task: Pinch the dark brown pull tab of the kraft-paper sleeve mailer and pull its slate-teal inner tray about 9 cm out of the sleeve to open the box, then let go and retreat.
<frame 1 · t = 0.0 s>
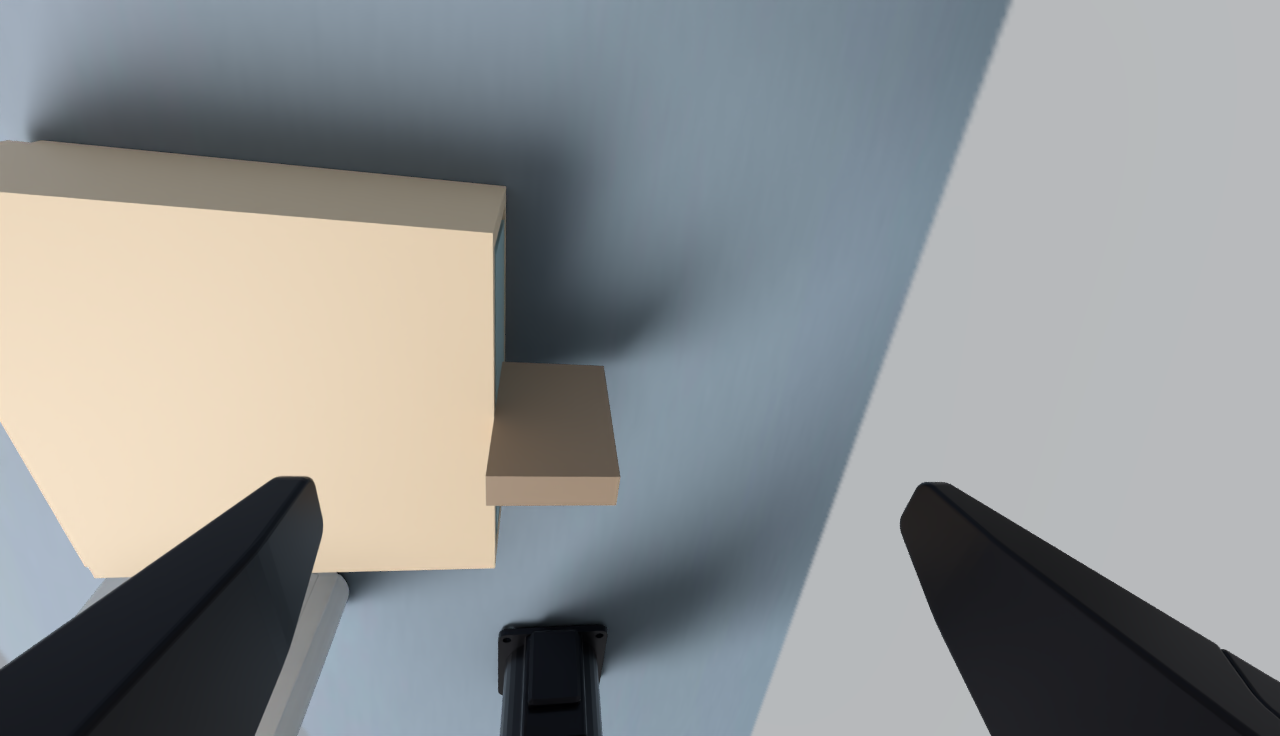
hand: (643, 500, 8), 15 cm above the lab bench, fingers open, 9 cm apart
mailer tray: (343, 414, 19), point 4 cm above the lab bench, slide at 0.0 cm, touching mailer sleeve
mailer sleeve: (324, 347, 22), on the lab bench
white product package: (243, 576, 28), on the lab bench
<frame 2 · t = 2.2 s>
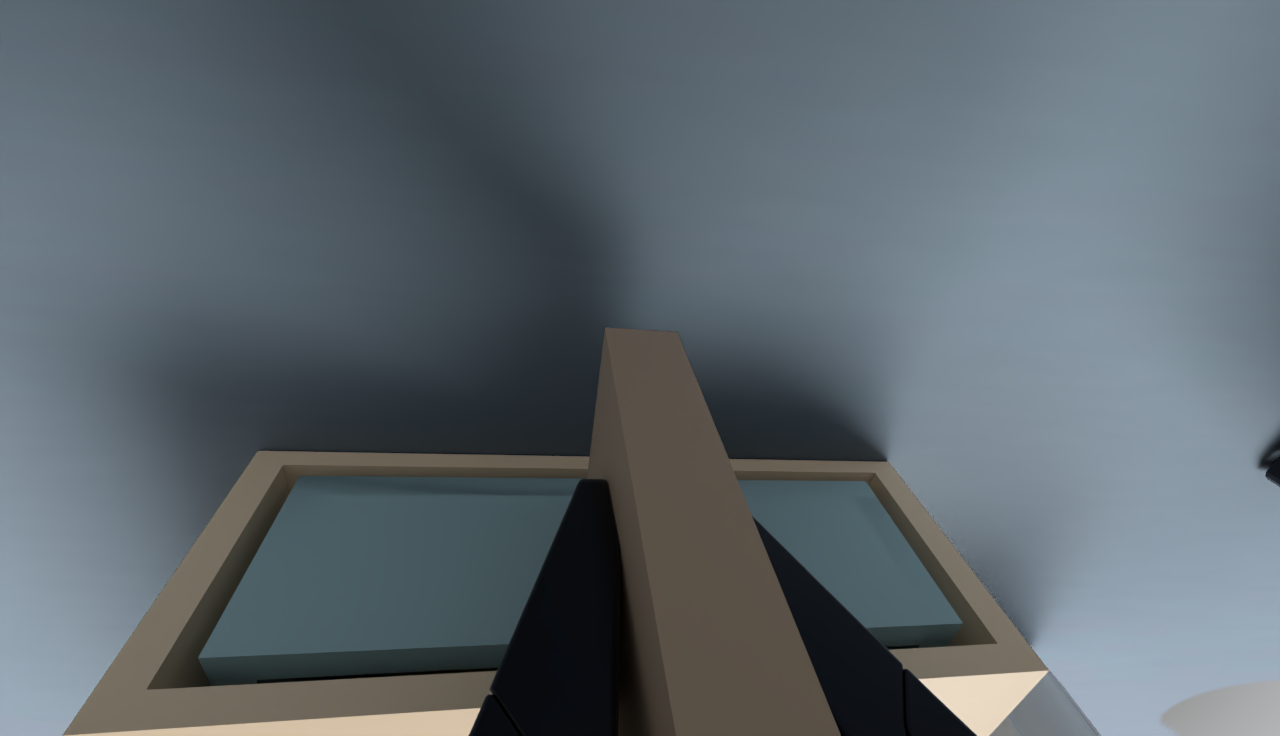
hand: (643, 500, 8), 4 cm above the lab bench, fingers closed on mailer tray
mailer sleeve: (580, 642, 16), on the lab bench
white product package: (922, 710, 22), on the lab bench
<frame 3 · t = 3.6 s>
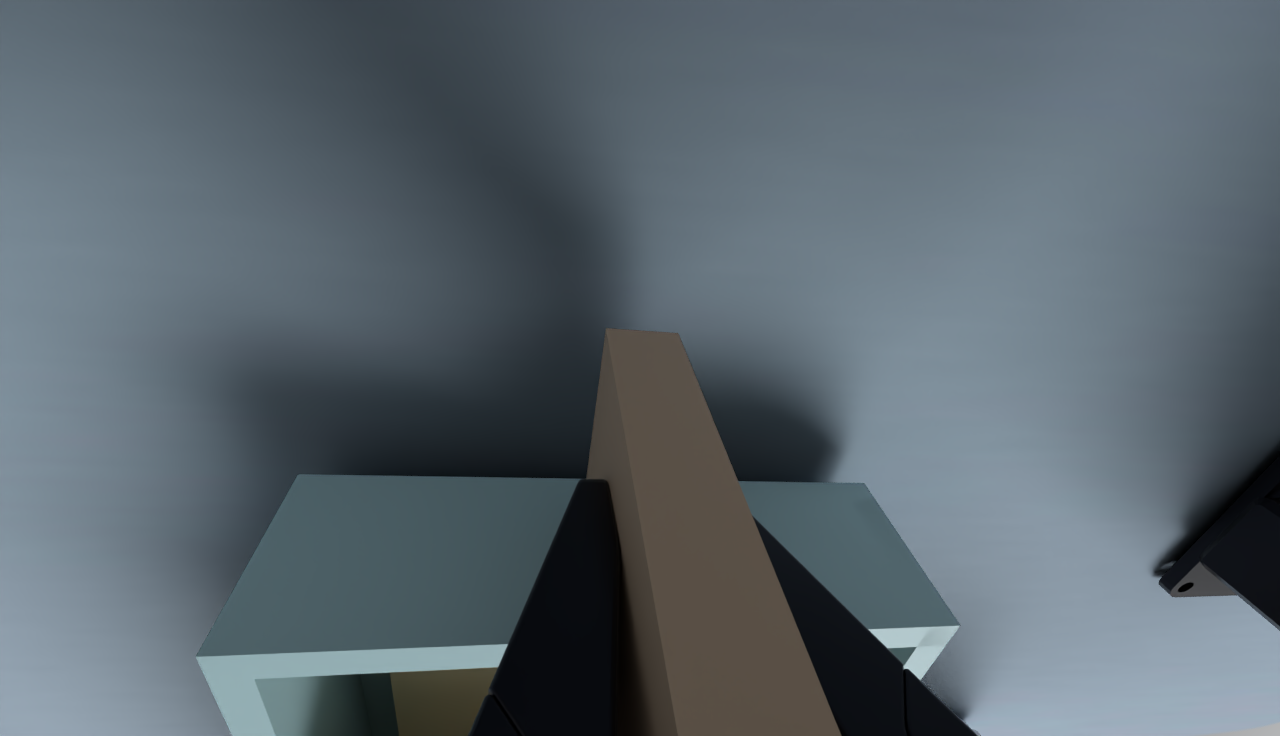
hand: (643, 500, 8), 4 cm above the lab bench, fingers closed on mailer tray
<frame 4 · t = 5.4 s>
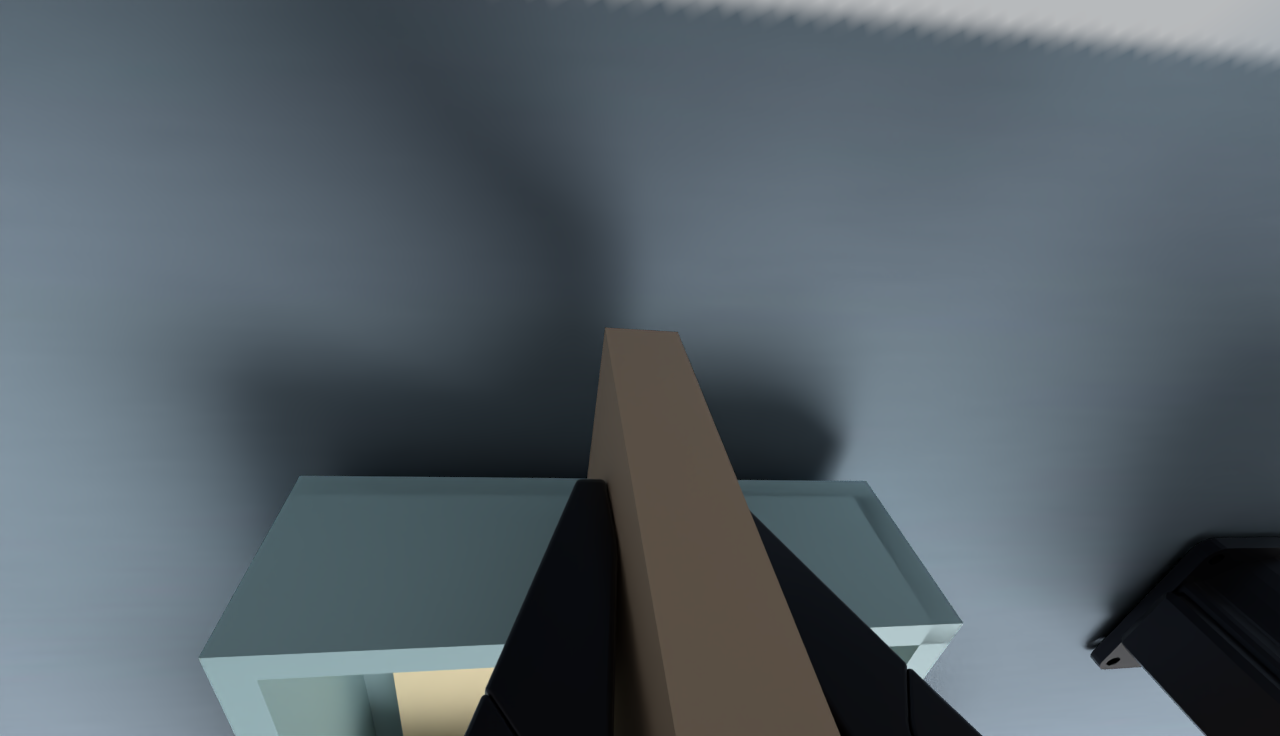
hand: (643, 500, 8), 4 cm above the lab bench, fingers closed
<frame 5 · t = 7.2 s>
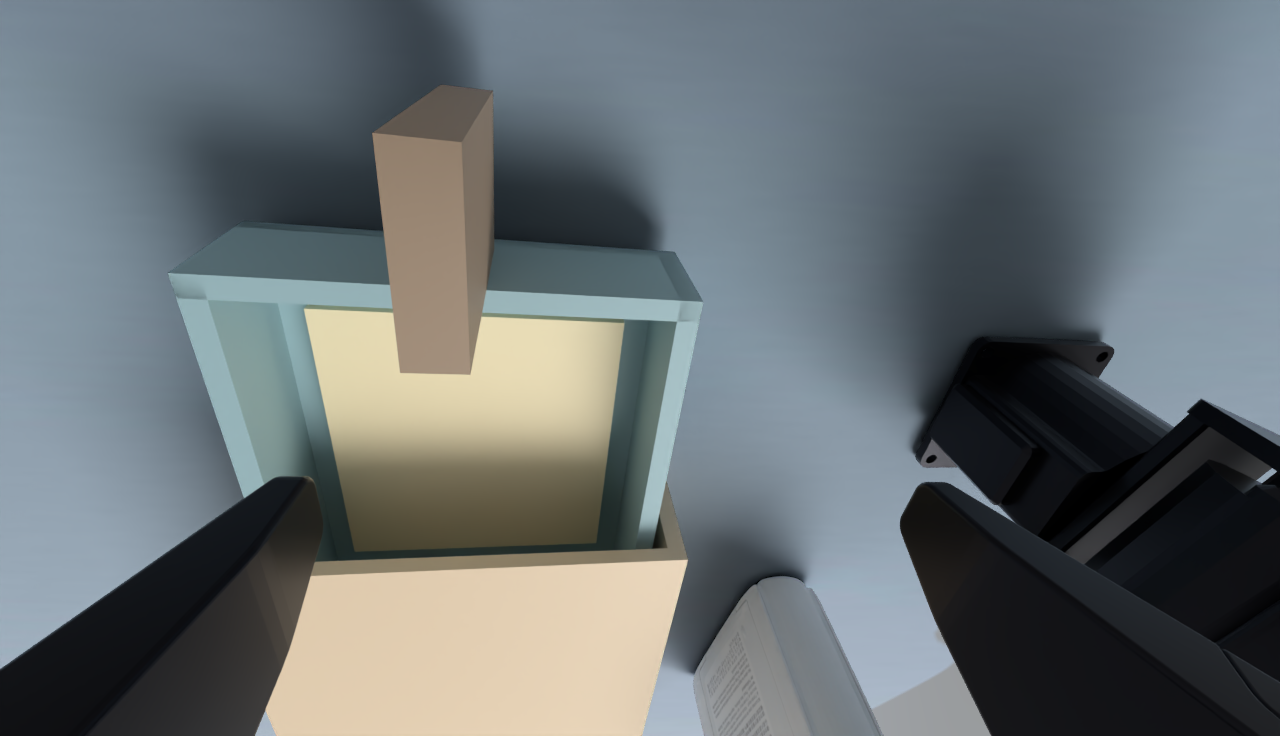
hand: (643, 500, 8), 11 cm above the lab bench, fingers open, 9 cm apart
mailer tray: (467, 452, 16), point 4 cm above the lab bench, slide at 8.9 cm
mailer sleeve: (485, 574, 25), on the lab bench
white product package: (745, 628, 31), on the lab bench
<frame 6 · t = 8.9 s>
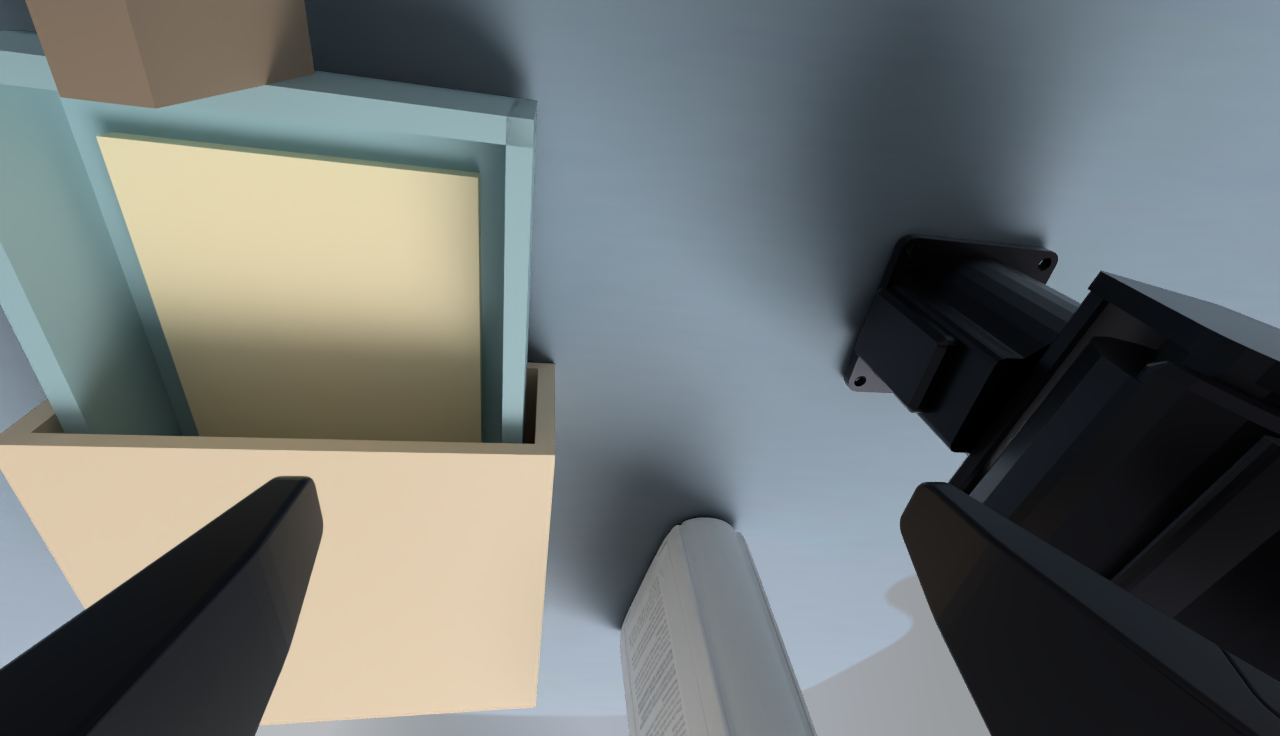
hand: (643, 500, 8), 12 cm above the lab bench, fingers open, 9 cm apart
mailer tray: (279, 305, 14), point 4 cm above the lab bench, slide at 8.9 cm
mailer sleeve: (374, 498, 23), on the lab bench
white product package: (674, 579, 29), on the lab bench
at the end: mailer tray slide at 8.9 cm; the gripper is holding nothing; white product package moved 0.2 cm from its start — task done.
